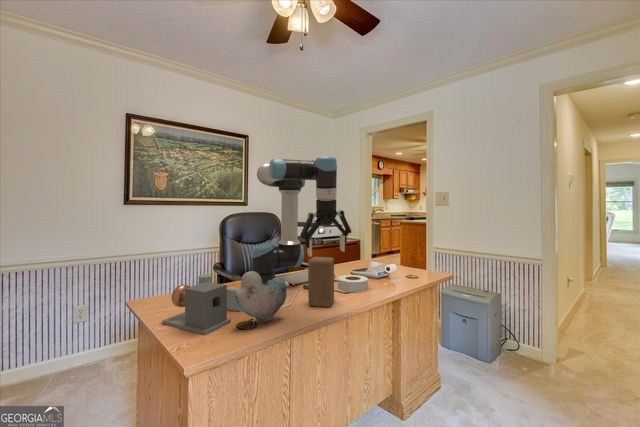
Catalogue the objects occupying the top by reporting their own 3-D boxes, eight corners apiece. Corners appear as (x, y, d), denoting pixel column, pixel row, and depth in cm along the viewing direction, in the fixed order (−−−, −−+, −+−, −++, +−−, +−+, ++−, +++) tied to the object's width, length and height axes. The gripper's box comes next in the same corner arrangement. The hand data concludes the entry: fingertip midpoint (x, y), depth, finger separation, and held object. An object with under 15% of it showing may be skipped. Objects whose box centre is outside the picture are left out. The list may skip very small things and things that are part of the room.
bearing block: (162, 323, 109) (161, 285, 109) (189, 313, 120) (188, 278, 120) (205, 335, 100) (205, 293, 99) (230, 322, 110) (230, 284, 110)
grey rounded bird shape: (279, 312, 120) (279, 263, 120) (292, 319, 113) (292, 267, 113) (230, 326, 107) (230, 271, 106) (241, 334, 100) (241, 275, 99)
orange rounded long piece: (171, 309, 110) (171, 287, 110) (189, 302, 117) (189, 282, 117) (198, 315, 104) (198, 292, 103) (215, 307, 111) (215, 286, 111)
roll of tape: (338, 284, 164) (338, 274, 164) (367, 285, 162) (367, 274, 162) (336, 292, 149) (336, 281, 149) (368, 293, 147) (368, 282, 146)
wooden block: (330, 308, 125) (330, 261, 125) (307, 306, 127) (307, 260, 127) (334, 300, 135) (334, 257, 134) (313, 299, 137) (312, 256, 136)
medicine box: (246, 308, 125) (245, 288, 125) (239, 312, 121) (239, 291, 121) (230, 306, 128) (230, 286, 128) (223, 309, 124) (223, 289, 124)
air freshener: (217, 292, 148) (217, 272, 148) (217, 297, 141) (216, 276, 140) (193, 294, 145) (193, 274, 145) (192, 299, 137) (191, 278, 137)
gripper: (297, 203, 102) (298, 261, 107) (360, 198, 111) (359, 251, 115) (291, 199, 109) (292, 254, 113) (351, 195, 117) (350, 245, 122)
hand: (326, 253), depth 114 cm, fingers open, 13 cm apart
